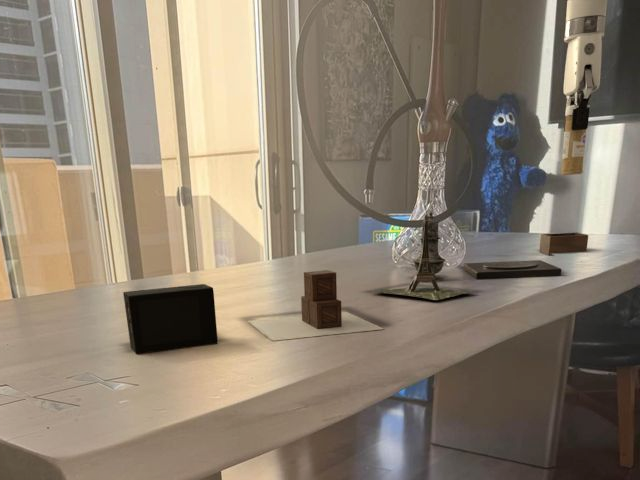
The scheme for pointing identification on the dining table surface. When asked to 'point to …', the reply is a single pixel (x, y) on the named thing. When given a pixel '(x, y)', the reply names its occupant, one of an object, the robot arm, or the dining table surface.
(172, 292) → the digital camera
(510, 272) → the hob plate
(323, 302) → the stack of crates
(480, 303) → the dining table surface
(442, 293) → the eiffel tower figurine
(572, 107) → the sprinkles bottle
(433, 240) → the dark brown tall piece
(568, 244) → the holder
